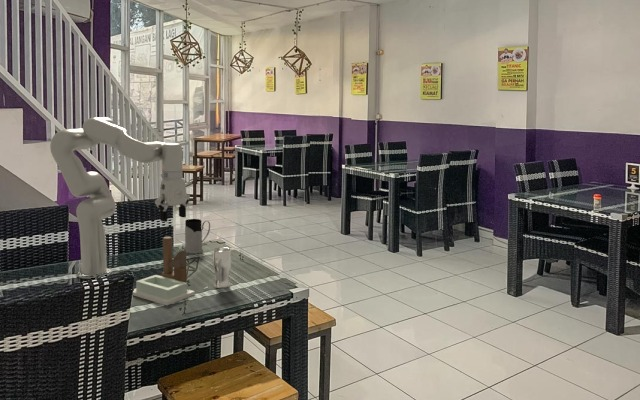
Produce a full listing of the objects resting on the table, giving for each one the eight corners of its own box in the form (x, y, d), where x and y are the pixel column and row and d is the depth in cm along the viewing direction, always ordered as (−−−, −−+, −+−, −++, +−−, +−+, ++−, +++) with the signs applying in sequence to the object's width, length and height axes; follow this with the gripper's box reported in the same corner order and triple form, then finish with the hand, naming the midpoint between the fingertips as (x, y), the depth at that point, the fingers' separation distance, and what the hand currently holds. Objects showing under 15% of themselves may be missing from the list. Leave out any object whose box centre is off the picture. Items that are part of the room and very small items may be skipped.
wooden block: (180, 286, 213) (179, 242, 210) (161, 281, 219) (160, 237, 216) (187, 284, 216) (186, 240, 213) (168, 278, 222) (167, 235, 219)
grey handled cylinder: (180, 250, 263) (180, 220, 260) (204, 245, 274) (204, 216, 271) (191, 254, 257) (191, 223, 255) (215, 248, 268) (215, 219, 265)
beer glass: (223, 281, 220) (222, 245, 217) (234, 286, 216) (234, 249, 213) (209, 286, 215) (209, 249, 212) (221, 290, 210) (220, 252, 208)
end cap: (128, 293, 204) (128, 281, 203) (157, 283, 215) (157, 272, 215) (166, 305, 194) (166, 292, 193) (194, 294, 205) (194, 282, 205)
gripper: (162, 178, 201) (163, 224, 204) (195, 174, 215) (196, 216, 218) (148, 176, 205) (149, 221, 208) (181, 172, 219) (182, 214, 222)
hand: (173, 218), depth 213 cm, fingers open, 9 cm apart
